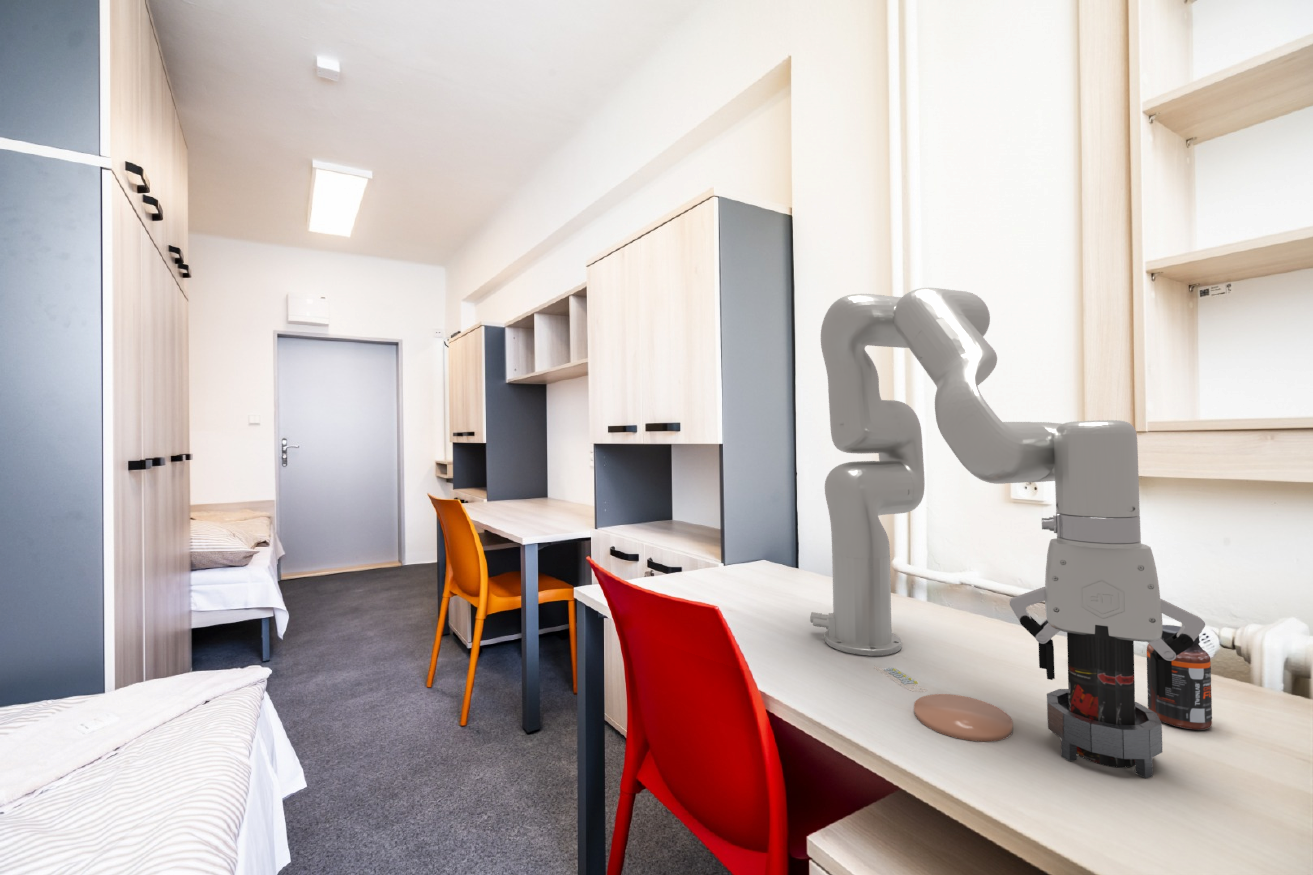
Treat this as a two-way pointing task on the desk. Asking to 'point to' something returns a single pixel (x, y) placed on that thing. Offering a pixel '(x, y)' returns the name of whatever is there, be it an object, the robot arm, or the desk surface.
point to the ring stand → (1106, 734)
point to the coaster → (963, 717)
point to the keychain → (901, 679)
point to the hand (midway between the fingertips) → (1102, 683)
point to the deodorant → (1101, 684)
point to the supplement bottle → (1184, 687)
